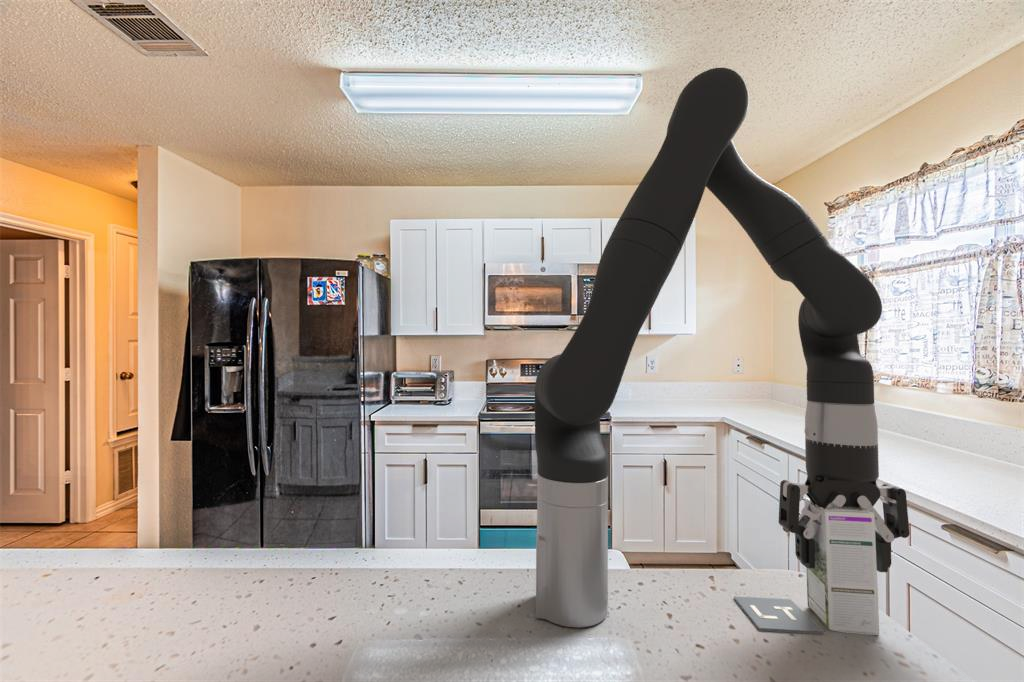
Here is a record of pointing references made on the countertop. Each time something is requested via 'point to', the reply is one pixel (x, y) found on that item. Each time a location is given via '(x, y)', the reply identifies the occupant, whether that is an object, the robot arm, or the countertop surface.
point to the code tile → (777, 615)
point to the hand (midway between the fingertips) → (842, 567)
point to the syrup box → (845, 571)
